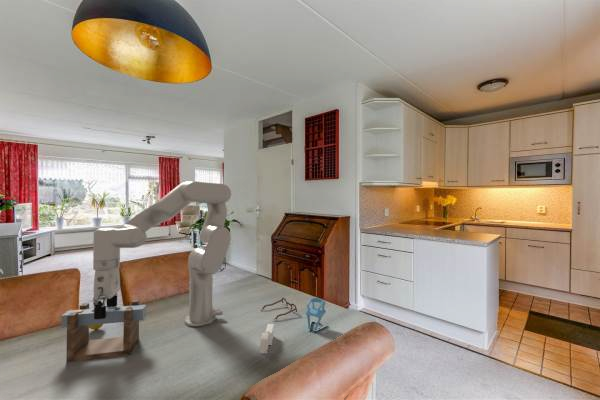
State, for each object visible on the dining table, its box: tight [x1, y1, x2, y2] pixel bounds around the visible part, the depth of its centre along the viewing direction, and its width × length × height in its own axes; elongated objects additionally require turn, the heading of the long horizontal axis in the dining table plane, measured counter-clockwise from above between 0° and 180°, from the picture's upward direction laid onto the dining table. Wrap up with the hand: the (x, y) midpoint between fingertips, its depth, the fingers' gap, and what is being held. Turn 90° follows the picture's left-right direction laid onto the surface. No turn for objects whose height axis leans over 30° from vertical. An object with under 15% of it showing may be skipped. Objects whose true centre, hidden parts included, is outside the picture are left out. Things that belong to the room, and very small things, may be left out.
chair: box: [305, 297, 327, 332], centre depth 113 cm, size 8×8×12 cm
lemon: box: [89, 324, 104, 331], centre depth 106 cm, size 6×6×8 cm
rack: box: [65, 299, 140, 363], centre depth 93 cm, size 18×10×15 cm, turn 106°
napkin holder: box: [259, 323, 275, 354], centre depth 99 cm, size 15×11×6 cm
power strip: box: [60, 304, 147, 328], centre depth 93 cm, size 24×4×4 cm, turn 106°
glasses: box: [261, 297, 298, 321], centre depth 127 cm, size 13×13×5 cm
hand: (106, 312), depth 93 cm, fingers open, 9 cm apart
